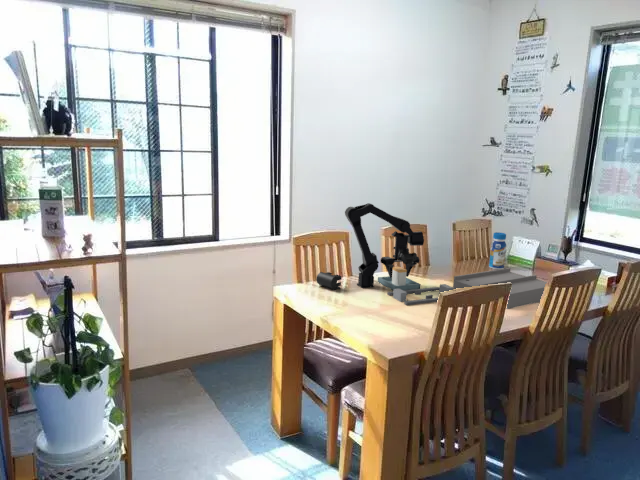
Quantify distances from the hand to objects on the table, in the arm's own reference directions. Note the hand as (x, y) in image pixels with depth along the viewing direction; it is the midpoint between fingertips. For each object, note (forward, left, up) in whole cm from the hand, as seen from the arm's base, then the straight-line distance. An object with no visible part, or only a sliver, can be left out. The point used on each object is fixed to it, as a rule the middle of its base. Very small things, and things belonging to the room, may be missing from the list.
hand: (399, 277), depth 241 cm
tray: (0, 0, -4) cm, 4 cm away
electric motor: (-34, +7, -4) cm, 35 cm away
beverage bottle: (+75, +15, -4) cm, 77 cm away
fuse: (0, 0, -4) cm, 4 cm away
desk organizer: (+44, -26, -5) cm, 51 cm away
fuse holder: (+1, -19, -4) cm, 19 cm away
